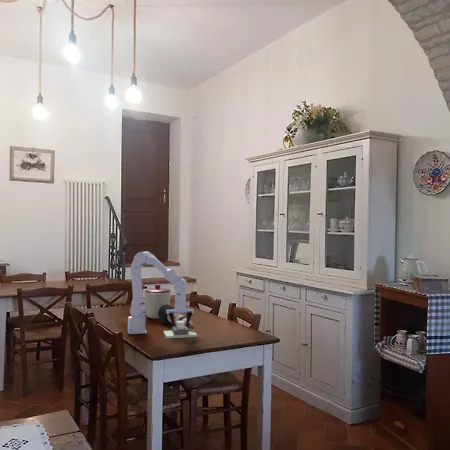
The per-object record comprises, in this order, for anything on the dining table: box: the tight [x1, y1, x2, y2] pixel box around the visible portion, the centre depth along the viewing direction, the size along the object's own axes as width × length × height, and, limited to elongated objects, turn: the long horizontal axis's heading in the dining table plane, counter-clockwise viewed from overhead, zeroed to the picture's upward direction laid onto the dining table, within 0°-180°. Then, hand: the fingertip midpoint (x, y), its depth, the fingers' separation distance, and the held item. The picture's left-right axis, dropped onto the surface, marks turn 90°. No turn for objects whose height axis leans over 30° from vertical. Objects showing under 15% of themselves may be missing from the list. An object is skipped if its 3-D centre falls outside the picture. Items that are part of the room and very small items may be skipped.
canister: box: [142, 283, 173, 320], centre depth 300 cm, size 18×18×21 cm
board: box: [163, 325, 198, 339], centre depth 253 cm, size 16×12×4 cm
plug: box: [175, 321, 184, 330], centre depth 253 cm, size 4×5×6 cm
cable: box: [158, 304, 195, 330], centre depth 271 cm, size 10×34×10 cm, turn 31°
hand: (180, 326), depth 253 cm, fingers open, 7 cm apart
